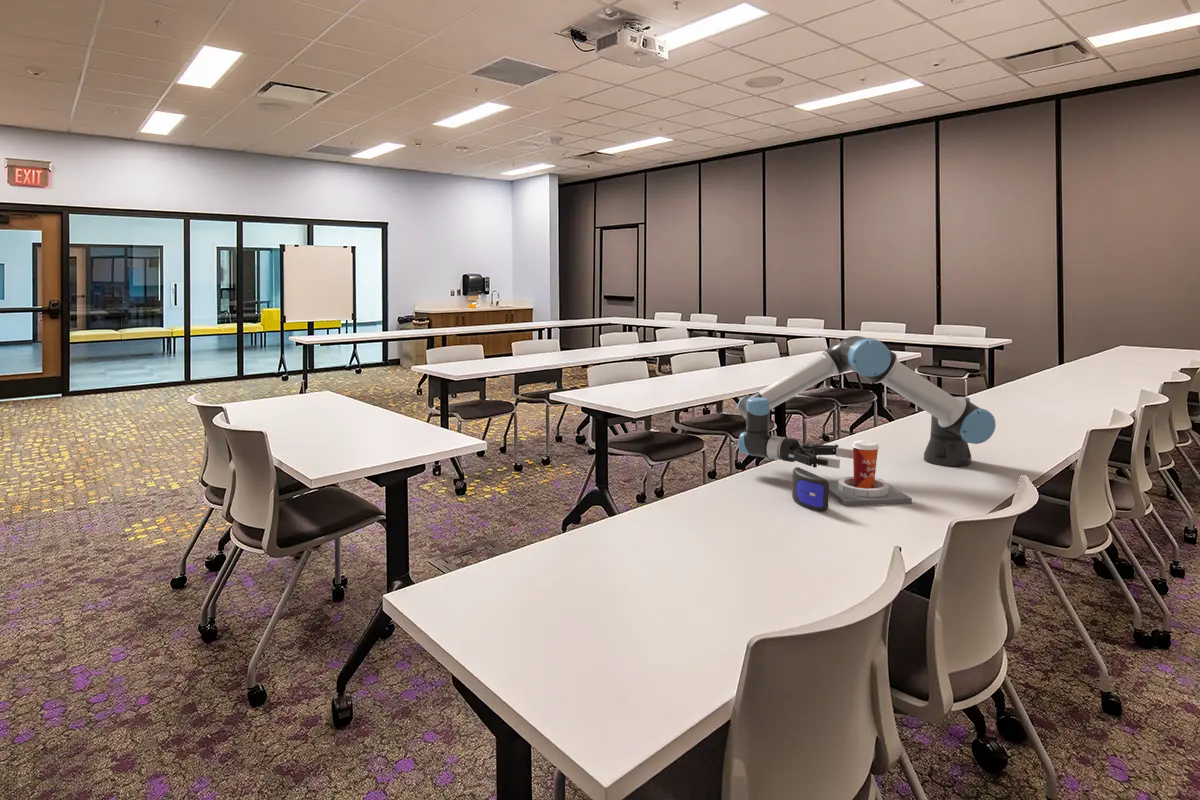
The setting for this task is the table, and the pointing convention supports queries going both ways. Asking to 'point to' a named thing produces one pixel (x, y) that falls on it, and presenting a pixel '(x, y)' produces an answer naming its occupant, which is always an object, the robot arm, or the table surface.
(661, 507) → the table surface
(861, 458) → the paper cup
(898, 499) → the collar board
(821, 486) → the leaning round-cornered charcoal block
